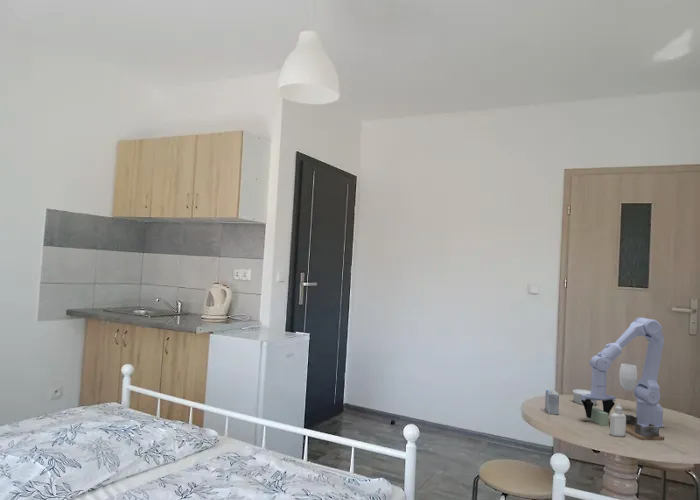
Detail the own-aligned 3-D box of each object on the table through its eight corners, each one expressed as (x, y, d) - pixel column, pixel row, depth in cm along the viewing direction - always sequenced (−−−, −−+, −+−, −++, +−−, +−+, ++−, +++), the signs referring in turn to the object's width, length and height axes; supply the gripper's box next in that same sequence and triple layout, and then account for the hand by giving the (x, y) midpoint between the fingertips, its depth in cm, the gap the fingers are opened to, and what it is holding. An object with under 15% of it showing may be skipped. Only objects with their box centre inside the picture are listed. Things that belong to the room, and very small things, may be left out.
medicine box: (558, 415, 225) (559, 394, 225) (547, 413, 226) (548, 393, 226) (555, 410, 232) (556, 390, 233) (544, 409, 233) (545, 389, 234)
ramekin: (575, 405, 244) (575, 393, 244) (569, 399, 255) (569, 388, 255) (600, 407, 242) (601, 396, 242) (593, 401, 253) (594, 390, 253)
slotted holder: (631, 424, 216) (632, 414, 216) (664, 440, 198) (664, 428, 198) (609, 424, 215) (610, 413, 215) (640, 439, 197) (640, 427, 197)
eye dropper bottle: (626, 437, 198) (628, 406, 198) (610, 435, 200) (612, 404, 200) (624, 434, 202) (625, 403, 202) (608, 432, 204) (609, 401, 204)
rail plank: (593, 418, 223) (593, 406, 223) (607, 425, 213) (608, 413, 213) (586, 418, 223) (587, 406, 223) (601, 425, 213) (601, 413, 213)
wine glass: (636, 410, 240) (638, 365, 240) (634, 414, 234) (637, 367, 234) (618, 407, 244) (620, 362, 244) (616, 410, 238) (618, 365, 238)
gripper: (608, 383, 223) (606, 415, 223) (577, 382, 221) (575, 414, 221) (619, 387, 216) (617, 420, 216) (587, 386, 214) (585, 419, 214)
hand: (597, 417), depth 218 cm, fingers open, 7 cm apart
